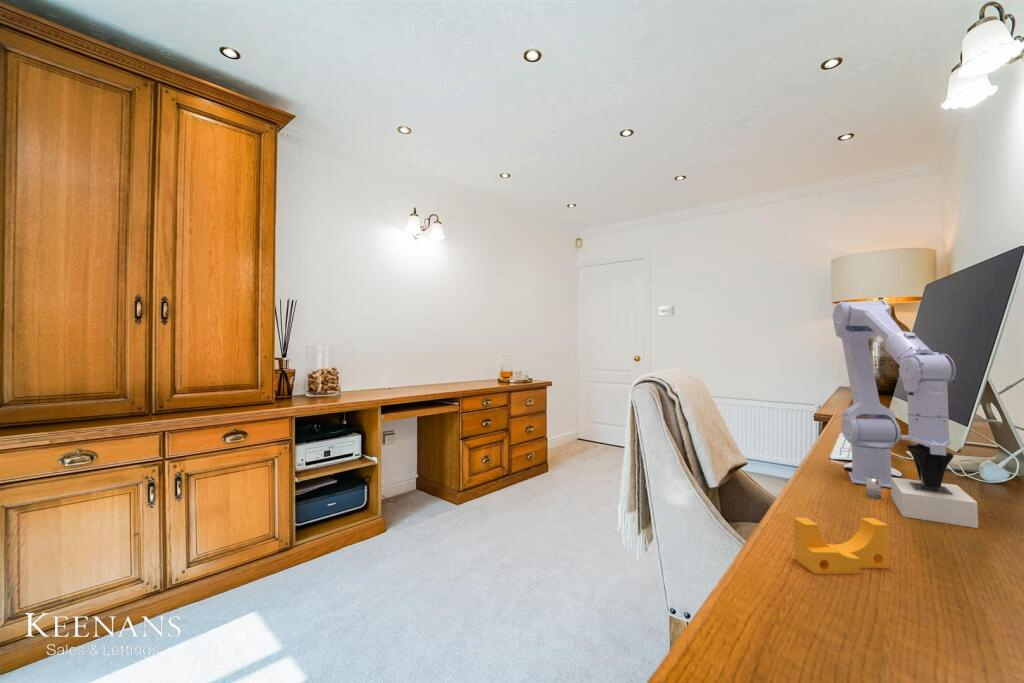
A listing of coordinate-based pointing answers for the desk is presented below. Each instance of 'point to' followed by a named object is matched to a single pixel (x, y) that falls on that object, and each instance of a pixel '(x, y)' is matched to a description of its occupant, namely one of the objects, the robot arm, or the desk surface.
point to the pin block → (934, 503)
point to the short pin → (873, 487)
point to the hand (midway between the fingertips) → (930, 484)
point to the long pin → (927, 487)
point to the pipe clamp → (842, 548)
